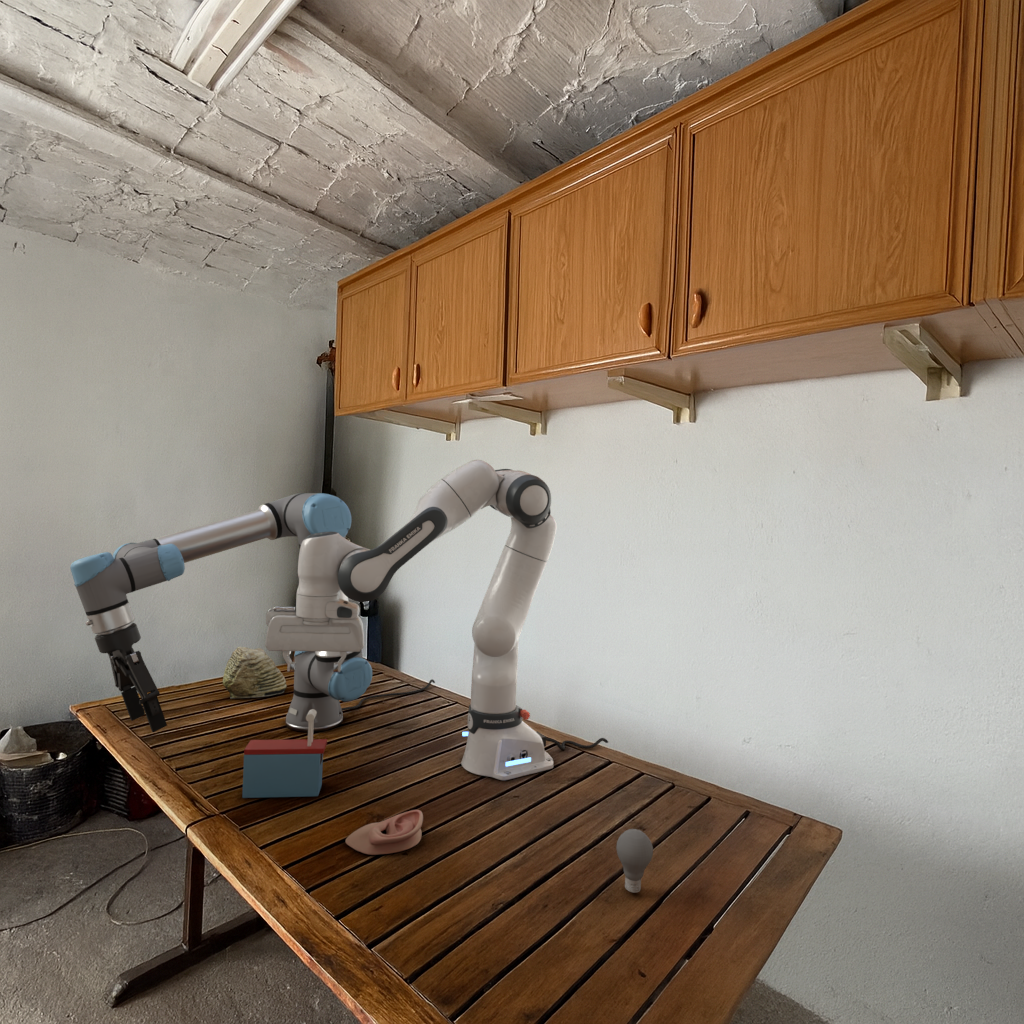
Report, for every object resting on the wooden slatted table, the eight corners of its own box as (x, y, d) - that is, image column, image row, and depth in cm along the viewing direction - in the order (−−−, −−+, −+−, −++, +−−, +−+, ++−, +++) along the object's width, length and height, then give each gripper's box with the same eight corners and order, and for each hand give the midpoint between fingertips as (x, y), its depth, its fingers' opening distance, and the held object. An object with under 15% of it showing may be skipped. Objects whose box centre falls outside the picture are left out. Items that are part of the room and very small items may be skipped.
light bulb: (610, 879, 108) (613, 822, 108) (644, 879, 109) (647, 822, 109) (619, 902, 102) (622, 840, 102) (655, 901, 103) (658, 840, 103)
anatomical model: (338, 827, 114) (365, 799, 125) (337, 849, 114) (364, 818, 125) (408, 839, 111) (429, 808, 122) (407, 861, 111) (428, 828, 122)
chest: (321, 784, 139) (323, 744, 139) (318, 796, 134) (319, 754, 134) (249, 786, 137) (250, 745, 137) (242, 798, 132) (243, 755, 132)
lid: (327, 743, 139) (328, 707, 139) (323, 753, 134) (325, 715, 134) (250, 744, 137) (252, 707, 137) (243, 754, 132) (245, 716, 131)
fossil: (218, 695, 195) (220, 647, 195) (278, 685, 208) (279, 640, 207) (228, 703, 189) (230, 653, 188) (289, 692, 201) (290, 645, 201)
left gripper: (78, 631, 135) (111, 721, 138) (112, 641, 118) (149, 744, 121) (116, 617, 140) (147, 704, 144) (154, 625, 123) (189, 723, 126)
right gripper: (263, 608, 131) (260, 675, 131) (364, 610, 134) (361, 675, 135) (269, 603, 137) (266, 666, 137) (366, 605, 141) (363, 667, 141)
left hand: (148, 723), depth 132 cm, fingers open, 13 cm apart
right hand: (314, 671), depth 136 cm, fingers open, 8 cm apart
